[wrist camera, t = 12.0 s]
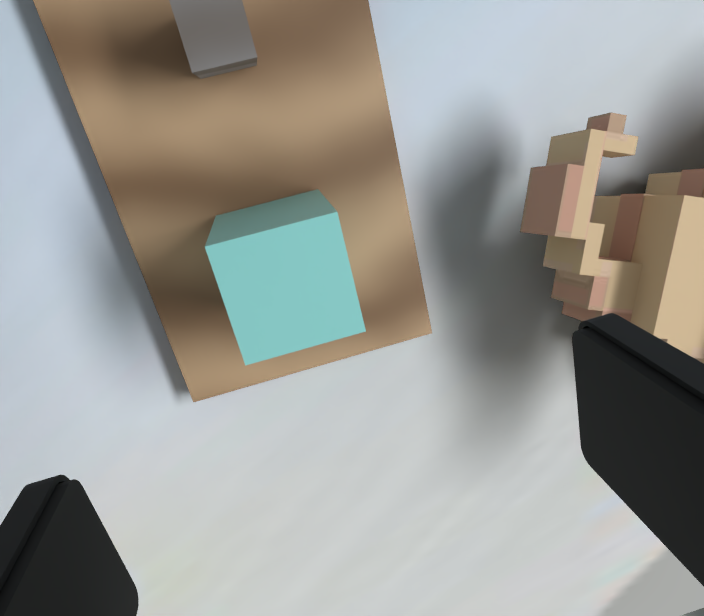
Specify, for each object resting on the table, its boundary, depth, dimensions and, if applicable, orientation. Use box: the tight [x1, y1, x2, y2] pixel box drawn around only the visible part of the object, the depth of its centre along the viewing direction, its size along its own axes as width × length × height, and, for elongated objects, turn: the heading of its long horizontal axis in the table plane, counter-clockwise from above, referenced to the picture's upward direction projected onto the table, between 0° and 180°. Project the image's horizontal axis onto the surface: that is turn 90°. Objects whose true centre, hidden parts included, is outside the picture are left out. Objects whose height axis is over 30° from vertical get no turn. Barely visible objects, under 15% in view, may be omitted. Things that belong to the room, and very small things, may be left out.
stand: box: [33, 0, 432, 402], centre depth 25 cm, size 22×14×5 cm, turn 13°
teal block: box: [205, 189, 366, 366], centre depth 24 cm, size 5×5×7 cm
